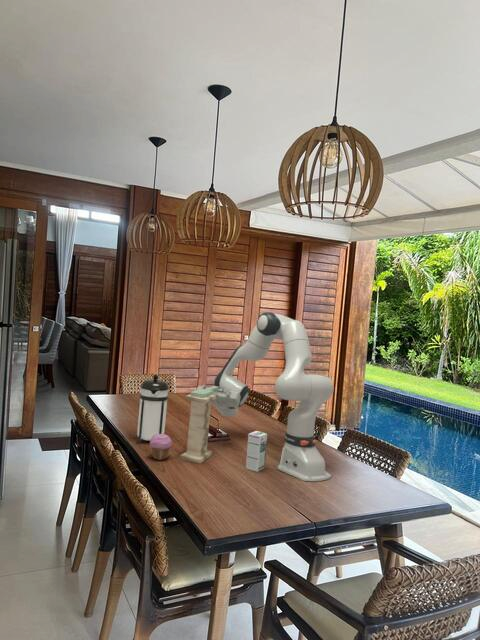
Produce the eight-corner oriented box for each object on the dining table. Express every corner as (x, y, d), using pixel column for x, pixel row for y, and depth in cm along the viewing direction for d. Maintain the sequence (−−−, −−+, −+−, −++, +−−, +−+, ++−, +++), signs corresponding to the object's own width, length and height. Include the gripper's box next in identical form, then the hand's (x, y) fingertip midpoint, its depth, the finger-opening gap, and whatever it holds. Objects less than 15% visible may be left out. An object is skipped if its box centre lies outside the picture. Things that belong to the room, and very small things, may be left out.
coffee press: (175, 442, 220) (181, 376, 219) (146, 447, 208) (152, 378, 207) (152, 432, 232) (157, 370, 230) (123, 437, 220) (129, 371, 219)
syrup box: (257, 472, 191) (261, 436, 190) (245, 468, 194) (248, 432, 193) (264, 468, 196) (268, 433, 195) (252, 465, 199) (255, 430, 198)
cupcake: (160, 463, 190) (162, 438, 190) (143, 458, 195) (146, 433, 194) (174, 458, 198) (176, 434, 197) (158, 453, 202) (160, 429, 202)
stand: (193, 450, 210) (198, 391, 209) (212, 454, 207) (217, 394, 206) (179, 459, 198) (185, 396, 197) (199, 463, 195) (205, 399, 194)
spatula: (210, 388, 217) (210, 385, 217) (222, 390, 215) (222, 387, 215) (190, 396, 198) (190, 392, 197) (203, 398, 196) (204, 394, 196)
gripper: (203, 390, 229) (194, 378, 218) (243, 396, 223) (236, 385, 211) (199, 402, 227) (189, 391, 215) (240, 409, 220) (233, 398, 208)
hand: (213, 388), depth 213 cm, fingers open, 8 cm apart
